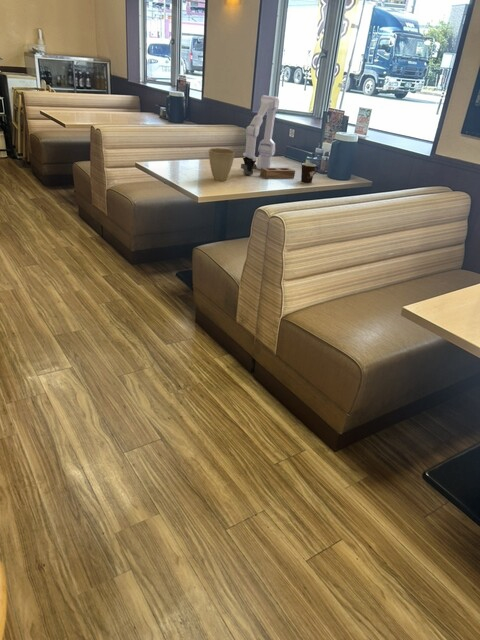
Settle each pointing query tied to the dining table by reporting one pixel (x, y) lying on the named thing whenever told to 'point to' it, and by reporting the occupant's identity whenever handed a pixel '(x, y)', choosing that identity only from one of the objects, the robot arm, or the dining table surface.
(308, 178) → the coffee mug
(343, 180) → the dining table surface
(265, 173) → the wooden slotted block
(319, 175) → the dining table surface
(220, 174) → the plant pot
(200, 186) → the dining table surface
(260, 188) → the dining table surface
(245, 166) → the grey rectangular block
